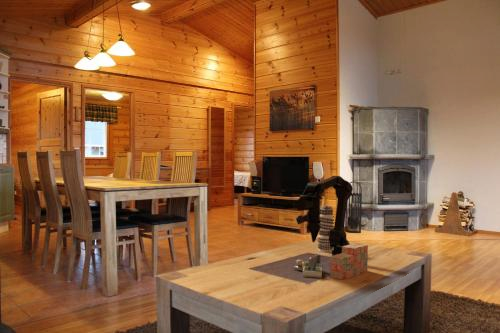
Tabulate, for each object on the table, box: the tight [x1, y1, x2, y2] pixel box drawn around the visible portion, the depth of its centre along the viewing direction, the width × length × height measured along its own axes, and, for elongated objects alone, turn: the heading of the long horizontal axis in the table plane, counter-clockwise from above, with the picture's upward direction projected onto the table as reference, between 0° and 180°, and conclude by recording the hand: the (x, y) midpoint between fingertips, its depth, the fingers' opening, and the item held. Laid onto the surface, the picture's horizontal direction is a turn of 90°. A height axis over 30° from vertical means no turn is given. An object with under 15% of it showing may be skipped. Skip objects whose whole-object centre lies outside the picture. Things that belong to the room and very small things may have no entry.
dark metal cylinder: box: [307, 256, 317, 271], centre depth 193 cm, size 4×4×7 cm
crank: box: [295, 254, 321, 267], centre depth 201 cm, size 11×3×5 cm, turn 81°
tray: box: [302, 266, 323, 279], centre depth 193 cm, size 8×8×2 cm
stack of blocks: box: [329, 242, 369, 280], centre depth 195 cm, size 21×6×12 cm, turn 135°
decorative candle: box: [317, 205, 335, 253], centre depth 244 cm, size 9×9×25 cm
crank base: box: [292, 262, 306, 272], centre depth 201 cm, size 6×6×4 cm
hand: (313, 241), depth 206 cm, fingers closed
